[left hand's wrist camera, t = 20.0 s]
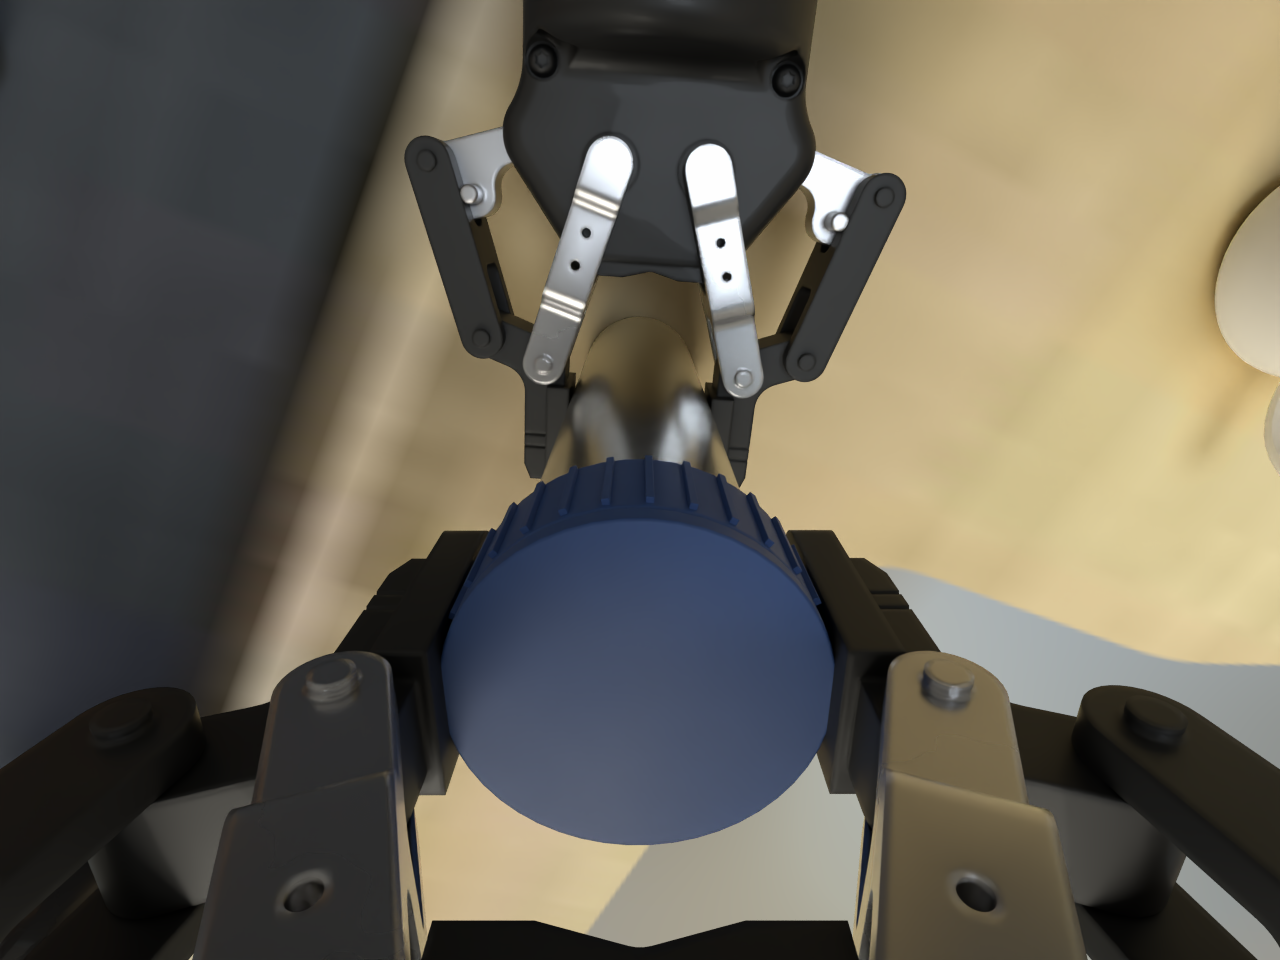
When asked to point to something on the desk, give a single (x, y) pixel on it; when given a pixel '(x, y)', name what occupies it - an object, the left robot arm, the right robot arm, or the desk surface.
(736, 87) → the right robot arm
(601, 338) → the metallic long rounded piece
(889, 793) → the left robot arm
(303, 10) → the desk surface
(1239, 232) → the mug
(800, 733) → the lid
